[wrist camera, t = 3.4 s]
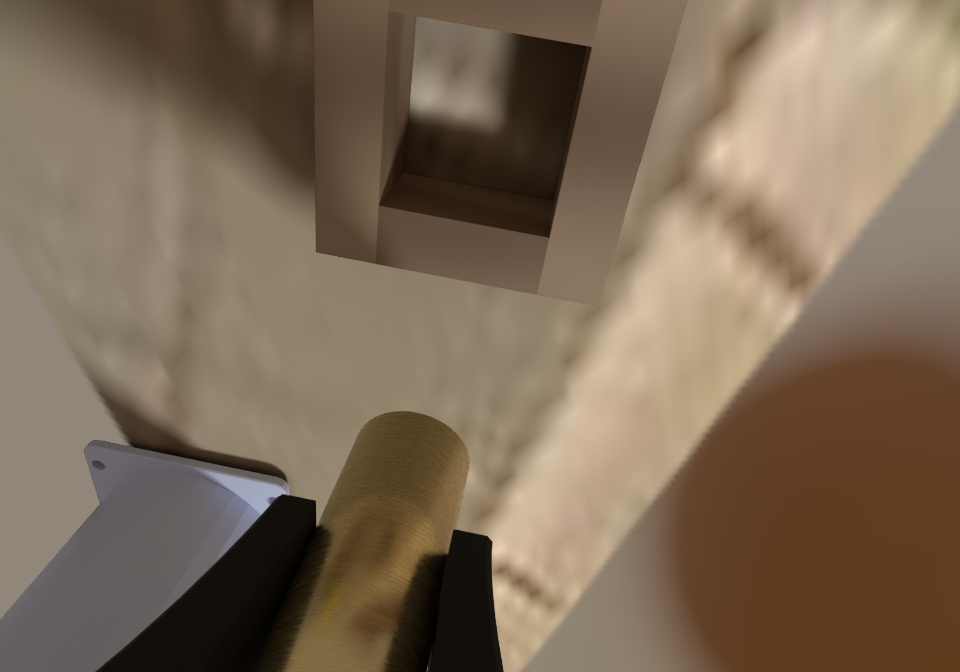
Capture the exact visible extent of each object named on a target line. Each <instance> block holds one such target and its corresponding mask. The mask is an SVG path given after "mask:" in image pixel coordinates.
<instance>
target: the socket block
mask: <svg viewBox="0 0 960 672" xmlns="http://www.w3.org/2000/svg"><path fill="white" fill-rule="evenodd" d="M687 1H688V0H313V21H314V116H315V210H316V252H317V253H322V254H328V255H333V256H338V257H343V258H348V259H354V260H359V261H364V262H369V263H374V264H380V265H385V266H390V267H395V268H401V269H406V270H411V271H416V272H421V273H427V274H432V275H437V276H442V277H447V278H453V279H458V280H463V281H468V282H473V283H479V284H484V285H489V286H494V287H499V288H505V289H510V290H515V291H520V292H525V293H531V294H536V295H541V296H546V297H551V298H557V299H562V300H567V301H572V302H577V303H583V304H588V305H593V306H598V305H599V302H600V299H601V295H602V292H603V288H604V285H605V281H606V278H607V275H608V271H609V268H610V264H611V261H612V257H613V254H614V251H615V247H616V244H617V240H618V237H619V233H620V230H621V227H622V223H623V220H624V216H625V213H626V210H627V206H628V203H629V199H630V196H631V192H632V189H633V186H634V182H635V179H636V175H637V172H638V168H639V165H640V162H641V158H642V155H643V151H644V148H645V144H646V141H647V138H648V134H649V131H650V127H651V124H652V120H653V117H654V114H655V110H656V107H657V103H658V100H659V97H660V93H661V90H662V86H663V83H664V79H665V76H666V73H667V69H668V66H669V62H670V59H671V55H672V52H673V49H674V45H675V42H676V38H677V35H678V31H679V28H680V25H681V21H682V18H683V14H684V11H685V7H686V4H687ZM416 16H419V17H425V18H431V19H436V20H442V21H448V22H453V23H459V24H465V25H470V26H476V27H482V28H487V29H493V30H499V31H505V32H510V33H516V34H522V35H527V36H533V37H539V38H544V39H550V40H556V41H561V42H567V43H573V44H578V45H584V46H587V48H586V53H585V57H584V62H583V66H582V71H581V75H580V80H579V85H578V89H577V94H576V98H575V103H574V107H573V112H572V117H571V121H570V126H569V130H568V135H567V139H566V144H565V149H564V153H563V158H562V162H561V167H560V171H559V176H558V181H557V185H556V190H555V194H554V199H553V200H549V199H544V198H538V197H533V196H528V195H522V194H517V193H511V192H506V191H501V190H495V189H490V188H485V187H479V186H474V185H468V184H463V183H458V182H452V181H447V180H442V179H436V178H431V177H425V176H420V175H415V174H409V173H405V161H406V147H407V133H408V120H409V106H410V93H411V79H412V65H413V52H414V38H415V24H416Z"/></svg>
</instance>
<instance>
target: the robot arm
mask: <svg viewBox="0 0 960 672" xmlns="http://www.w3.org/2000/svg"><path fill="white" fill-rule="evenodd" d="M84 453H85V457H86V460H87V463H88V466H89V470H90V473H91V476H92V479H93V483H94V486H95V488H96V492H97V496H98V499H99V502H100V505H99V506H98V507H97V508H96V510H95V511H94V512H93V513H92V514H91V515H90V516H89V518H88V519H87V520H86V521H85V522H84V523H83V524H82V526H81V527H80V528H79V529H78V530H77V531H76V532H75V534H74V535H73V536H72V537H71V538H70V540H69V541H68V542H67V543H66V544H65V545H64V546H63V547H62V549H61V550H60V551H59V552H58V553H57V554H56V556H55V557H54V558H53V559H52V560H51V561H50V562H49V564H48V565H47V566H46V567H45V568H44V570H43V571H42V572H41V573H40V574H39V575H38V576H37V577H36V579H35V580H34V581H33V582H32V583H31V584H30V586H29V587H28V588H27V589H26V590H25V591H24V592H23V594H22V595H21V596H20V597H19V598H18V599H17V601H16V602H15V603H14V604H13V605H12V606H11V608H10V609H9V610H8V611H7V612H6V614H4V616H3V617H2V618H1V619H0V672H251V670H252V668H253V666H254V663H255V661H256V659H257V657H258V655H259V652H260V650H261V648H262V646H263V644H264V641H265V639H266V637H267V635H268V633H269V630H270V628H271V626H272V624H273V622H274V619H275V617H276V615H277V613H278V611H279V608H280V606H281V604H282V602H283V599H284V597H285V595H286V593H287V591H288V588H289V586H290V584H291V582H292V580H293V577H294V575H295V573H296V571H297V569H298V566H299V564H300V562H301V560H302V558H303V555H304V553H305V551H306V549H307V547H308V544H309V542H310V540H311V538H312V535H313V533H314V531H315V529H316V501H314V500H310V499H305V498H300V497H295V496H290V489H289V486H288V484H287V483H286V481H284V480H283V479H281V478H278V477H275V476H270V475H265V474H260V473H255V472H251V471H246V470H241V469H236V468H231V467H226V466H222V465H217V464H212V463H207V462H202V461H197V460H193V459H188V458H183V457H178V456H173V455H168V454H164V453H159V452H154V451H149V450H144V449H139V448H135V447H130V446H125V445H120V444H115V443H110V442H106V441H100V440H94V441H91V442H90V443H89V444H88V445H87V446H86V447H85V449H84ZM427 672H503V665H502V659H501V653H500V647H499V640H498V634H497V626H496V619H495V609H494V599H493V586H492V541H491V540H490V539H489V537H488V536H484V535H479V534H474V533H470V532H465V531H460V530H455V529H453V534H452V538H451V543H450V547H449V552H448V556H447V561H446V565H445V570H444V575H443V581H442V587H441V592H440V598H439V604H438V610H437V618H436V626H435V633H434V638H433V643H432V648H431V653H430V657H429V662H428V670H427Z"/></svg>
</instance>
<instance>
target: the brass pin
mask: <svg viewBox="0 0 960 672" xmlns="http://www.w3.org/2000/svg"><path fill="white" fill-rule="evenodd" d="M468 470H469V455H468V451H467V449H466V447H465V445H464V443H463V441H462V440H461V438H460V437H459V436H458V435H457V434H456V433H455V432H454V431H453V430H452V429H451V428H450V427H448V426H447V425H445V424H444V423H442V422H441V421H439V420H437V419H435V418H432V417H430V416H427V415H424V414H420V413H415V412H407V411H398V412H390V413H385V414H382V415H379V416H377V417H375V418H373V419H371V420H370V421H369V422H367V423H366V424H365V425H364V426H363V428H362V429H361V430H360V432H359V434H358V436H357V438H356V441H355V443H354V445H353V447H352V449H351V452H350V454H349V456H348V458H347V460H346V463H345V465H344V467H343V469H342V471H341V474H340V476H339V478H338V480H337V483H336V485H335V487H334V489H333V491H332V494H331V496H330V498H329V500H328V502H327V505H326V507H325V509H324V511H323V513H322V516H321V518H320V520H319V522H318V524H317V527H316V529H315V531H314V533H313V535H312V538H311V540H310V542H309V544H308V547H307V549H306V551H305V553H304V555H303V558H302V560H301V562H300V564H299V566H298V569H297V571H296V573H295V575H294V577H293V580H292V582H291V584H290V586H289V588H288V591H287V593H286V595H285V597H284V599H283V602H282V604H281V606H280V608H279V611H278V613H277V615H276V617H275V619H274V622H273V624H272V626H271V628H270V630H269V633H268V635H267V637H266V639H265V641H264V644H263V646H262V648H261V650H260V652H259V655H258V657H257V659H256V661H255V663H254V666H253V668H252V670H251V672H427V667H428V662H429V657H430V653H431V648H432V643H433V638H434V633H435V626H436V618H437V610H438V604H439V598H440V592H441V587H442V581H443V575H444V570H445V565H446V561H447V556H448V552H449V547H450V543H451V538H452V534H453V529H455V530H456V528H457V523H458V518H459V513H460V508H461V504H462V499H463V494H464V489H465V484H466V480H467V475H468Z"/></svg>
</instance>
